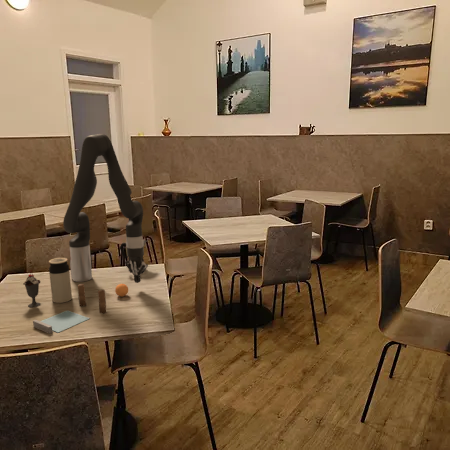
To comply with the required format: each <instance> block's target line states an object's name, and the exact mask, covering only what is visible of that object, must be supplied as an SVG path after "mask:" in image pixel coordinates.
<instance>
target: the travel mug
mask: <svg viewBox="0 0 450 450" xmlns="http://www.w3.org/2000/svg"><path fill="white" fill-rule="evenodd" d="M48 264H49V267H48V272H49V282H50V291H51V299H52V302H53V303H57V304H60V303H61V304H63V303H67V302H69V301H71V300H72V299H73V296H72V283H71V271H70V265H69V264H68V258H67V257H55V258H52V259H50V260H48Z"/></svg>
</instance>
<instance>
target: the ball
mask: <svg viewBox="0 0 450 450" xmlns="http://www.w3.org/2000/svg"><path fill="white" fill-rule="evenodd" d="M114 291H115V295H117V296H118V297H121V298H122V297H126V296H127V295H128V293H129V287H128V286H127V285H126V283H125V284H124V283H119V284H117V285H116V286H115V289H114Z"/></svg>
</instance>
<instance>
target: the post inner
mask: <svg viewBox="0 0 450 450" xmlns="http://www.w3.org/2000/svg"><path fill="white" fill-rule="evenodd" d="M77 291H78V300H79V301H78V303H79V304H78V305H79V307H85V306H87V299H86V289H85V284H84V283H80V284H78V285H77Z"/></svg>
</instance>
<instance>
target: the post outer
mask: <svg viewBox="0 0 450 450" xmlns="http://www.w3.org/2000/svg"><path fill="white" fill-rule="evenodd" d="M97 295H98V307H99V308H98V309H99V310H98V311H99V314H105V313H107V305H106V301H107V300H106V291H105V289H98V291H97Z"/></svg>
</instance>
